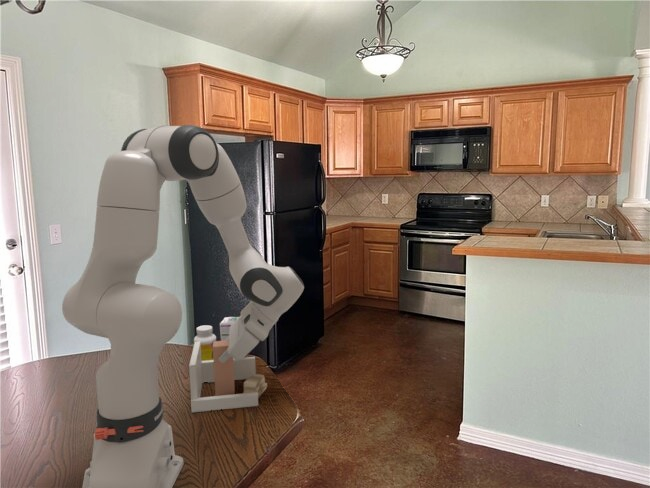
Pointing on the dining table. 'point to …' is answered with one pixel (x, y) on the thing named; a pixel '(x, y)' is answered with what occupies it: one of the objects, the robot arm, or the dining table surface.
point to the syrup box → (226, 327)
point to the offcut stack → (255, 384)
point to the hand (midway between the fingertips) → (221, 356)
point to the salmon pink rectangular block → (223, 370)
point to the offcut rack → (205, 373)
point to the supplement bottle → (205, 341)
